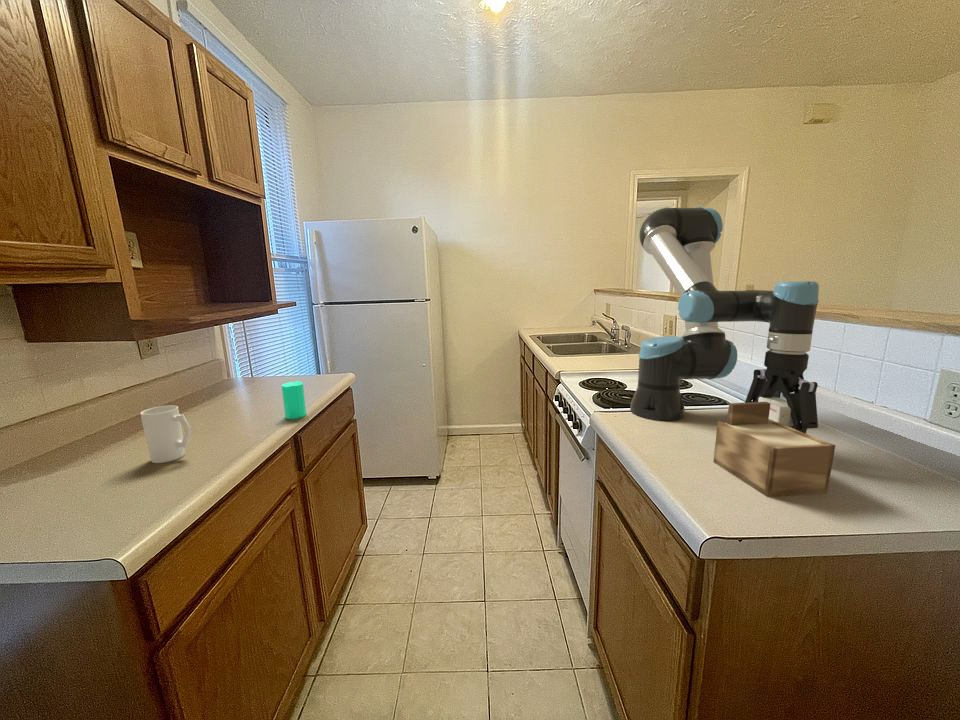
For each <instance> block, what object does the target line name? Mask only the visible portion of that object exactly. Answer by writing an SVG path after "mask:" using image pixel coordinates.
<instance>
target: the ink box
mask: <svg viewBox="0 0 960 720" xmlns="http://www.w3.org/2000/svg"><path fill="white" fill-rule="evenodd" d="M758 402H768V403H771V404H770V412H769V419H770V420H773V421H775V422H778V423H780V424H783V425H785V426H788V427H790V426H794V425H793V421H792V418H791V409H790V407H788V404H787V401H786V399H783V398H780V397H774V396H772V397H765V398H762V397H759V399H758ZM800 423H801V421H800Z"/></svg>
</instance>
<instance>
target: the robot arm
mask: <svg viewBox="0 0 960 720" xmlns="http://www.w3.org/2000/svg"><path fill="white" fill-rule="evenodd" d="M723 223H724V222H723V219H722V216H721V214H720V213H719V212H718V211H717V210H716V209H714V208H712V207H704V206H697V207H662V208H659V209H656V211H653V212H652V213H651V214H650V215H648V216H647V217H646V218H645V220H644V221H643V222H642V224H641V226H640V230H639V241H640V242H639V243H640V245H641V247H642V248H643V250H644V251H645V252H646V254H649V255H652V256H653V259H655V261H656V263H657V264H658V265H659V267H660V268H661V270H662V272H663V273H664V275H665V276H666V278H667V279H668V280H669V282H670V284H671V285H672V286H673V289H674V290H675V291H676V293H677V294H678V295H679V297H680V298H679V299H678V303H677V310H678V311H679V312H678V315H679V318H681V319H682V320H683V321H684V325H685V326H684V327H685V332H684V333H683V334H682V335H681V336H678V335H677V336H676V335H675V336H673V335H672V336H671V335H670V336H665V335H664V336H656V337H651V338H647V339H645V340H643V341H642V342H641V344H640V349H639V354H638V357H639V361H638V374H637V375H638V378H637V388H636V389H635V393H634V394H633V396H632V399H631V402H630V408H629V410H630V412H631V413H632V414H634V415H636V416H638V417H641V418H645V419H650V420H656V421H677V420H681V419H684V417H685V406H684V401H683V398H682V394H681V389H680V388H681V381H682V380H714V379H722V378H725V377H727V376H729V375H731V373H732V372H733V370H734V369H735V368H736V366H737V362H738V350H737V349H738V348H737V347H736V345H735V344H734V342H732V341H731V340H728V339H726V333H725V331H724V330H722V329H720V328H719V323H722V322H728V323H729V322H732V323H733V322H736V323H737V322H758V323H760V322H762V323H769V326H768V334H767V342H766V348H767V349H768V350H767V351H766V352H765V355H764V362H763V365H764V367H765V368H764V369H754V370H753V379H752V382H751V384H750V387H749V390H748V393H747V396H746V399H745V401H744V403H747V402H758V399H759V397H762V398H765V397H774V395H775V394H776V392H779V393H781V394H782V396H783V398H785V400H786V401H787V404H788V407H790V409H791V418H792V421H793V425H794V426H790V428H793V429H795V430H798V431H800V432H803V433H805V434H807V430H808V429H818V428H819V421H818V420H819V419H818V408H817V406H818V405H817V395H816V393H817V389H818V386H819V385H818V382H816V381H808V380H806V379H805V377H804V373H805V371H807V369H808V363H809V357H810V356H809V354H808V352H810V351H811V345H812V339H813V331H814V324H815V319H816V313H817V310H818V309H817V307H818V305H819V301H820V300H819V289H820V286H819V284H818V282H816V281H813V280H808V281H807V280H804V281H803V280H801V281H778V282H776V283H775V284H774V288H773V290H760V289H759V290H758V289H746V290H718V289H717V287H716V286H715V284H714V276H713V267H712V258H711V252H712V251H713V250H714V249H715V248H716V243H718V242H719V240H720V238H721V237H722V232H723ZM800 421H801V423H800Z"/></svg>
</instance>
